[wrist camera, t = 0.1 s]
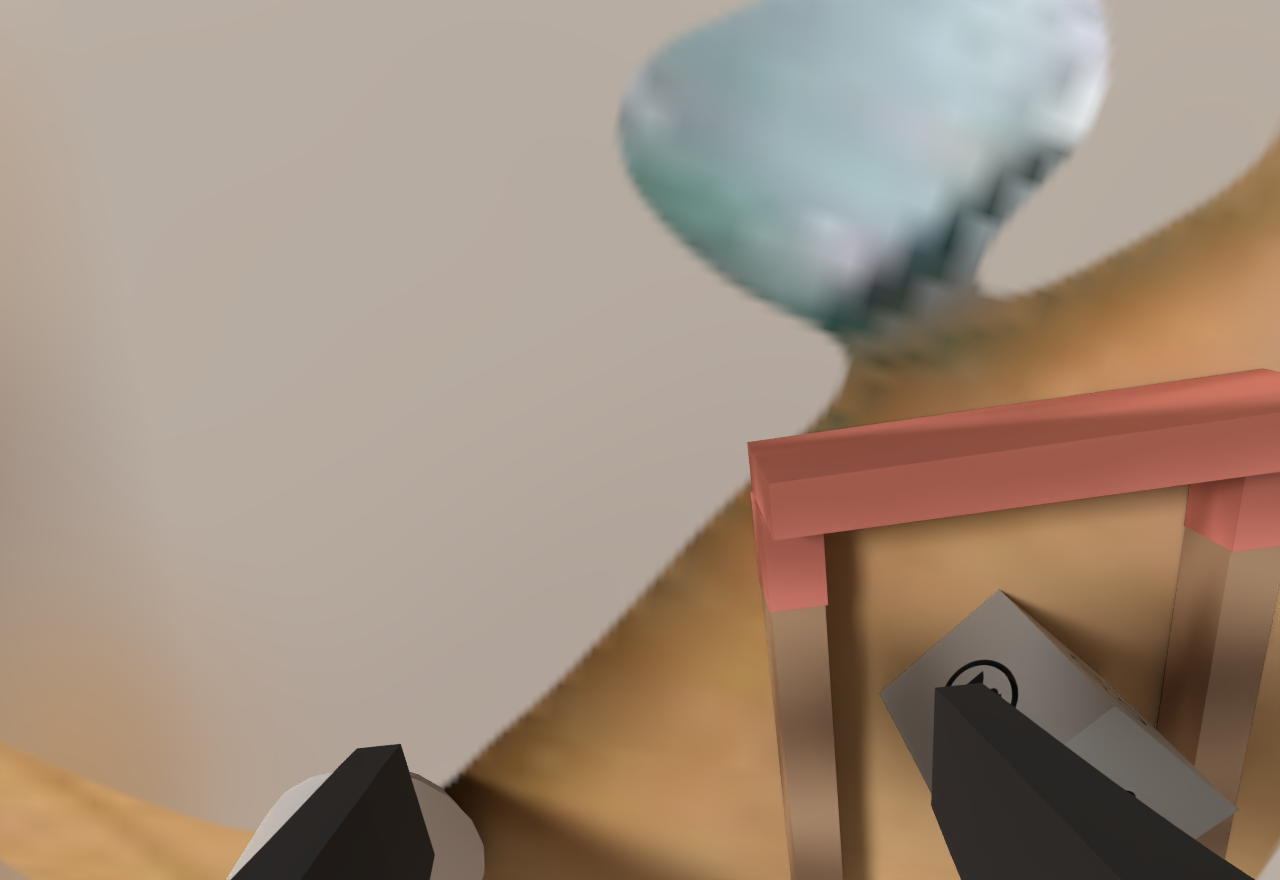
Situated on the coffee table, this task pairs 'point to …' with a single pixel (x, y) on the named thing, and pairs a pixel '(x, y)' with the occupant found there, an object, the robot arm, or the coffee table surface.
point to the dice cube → (1053, 710)
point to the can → (445, 821)
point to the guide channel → (1017, 477)
